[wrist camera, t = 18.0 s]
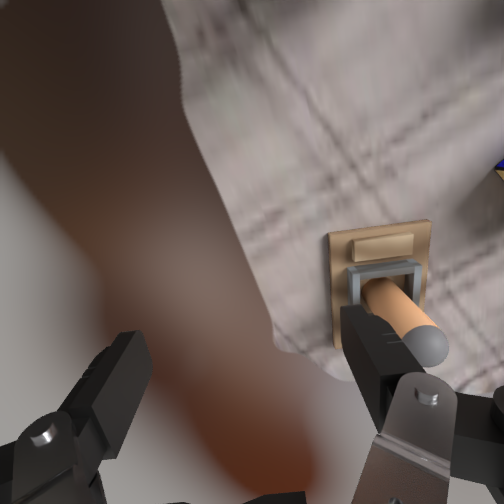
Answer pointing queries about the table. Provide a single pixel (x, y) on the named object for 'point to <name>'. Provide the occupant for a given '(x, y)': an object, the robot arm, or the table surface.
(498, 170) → the puzzle cube
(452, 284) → the table surface
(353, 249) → the jig
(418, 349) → the grey-capped tan cylinder
